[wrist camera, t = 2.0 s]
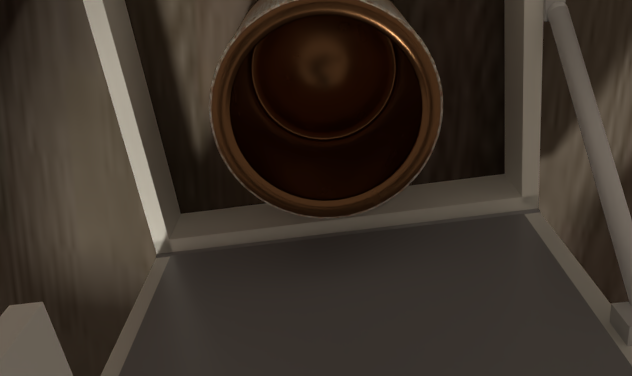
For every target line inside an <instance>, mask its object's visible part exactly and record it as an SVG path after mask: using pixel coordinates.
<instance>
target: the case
mask: <svg viewBox="0 0 632 376" xmlns="http://www.w3.org/2000/svg"><path fill="white" fill-rule="evenodd" d="M83 3H84V6H85V9H86V13H87V16H88V20H89V23H90V27H91V30H92V33H93V37H94V40H95V44H96V47H97V51H98V54H99V57H100V61H101V64H102V68H103V71H104V75H105V78H106V81H107V85H108V88H109V92H110V95H111V99H112V102H113V105H114V109H115V112H116V116H117V119H118V123H119V126H120V129H121V133H122V136H123V140H124V143H125V147H126V150H127V153H128V157H129V160H130V164H131V167H132V171H133V174H134V177H135V181H136V184H137V188H138V191H139V195H140V198H141V201H142V205H143V208H144V212H145V215H146V219H147V222H148V225H149V229H150V232H151V236H152V239H153V243H154V246H155V249H156V253H157V255H156V259H155V261H154V263H153V265H152V268H151V270H150V272H149V274H148V276H147V278H146V280H145V282H144V285H143V287H142V289H141V291H140V293H139V295H138V297H137V299H136V301H135V304H134V306H133V308H132V310H131V312H130V314H129V316H128V318H127V321H126V323H125V325H124V327H123V329H122V331H121V333H120V335H119V337H118V340H117V342H116V344H115V346H114V348H113V350H112V352H111V354H110V357H109V359H108V361H107V363H106V365H105V367H104V369H103V371H102V373H101V376H632V219H631V216H630V213H629V209H628V206H627V203H626V199H625V196H624V193H623V189H622V186H621V183H620V179H619V176H618V173H617V169H616V166H615V163H614V159H613V156H612V153H611V149H610V146H609V143H608V139H607V136H606V133H605V129H604V126H603V123H602V119H601V116H600V113H599V109H598V106H597V103H596V99H595V96H594V93H593V89H592V86H591V83H590V79H589V76H588V73H587V69H586V66H585V63H584V59H583V56H582V53H581V49H580V46H579V43H578V39H577V36H576V33H575V29H574V26H573V23H572V19H571V16H570V13H569V9H568V7H567V5H566V0H504V57H505V174H499V175H491V176H483V177H475V178H467V179H459V180H451V181H442V182H434V183H426V184H418V185H410V186H407V187H406V188H405V189H404V190H403V191H402V192H400V193H399V194H398V195H397V196H395V197H394V198H392V199H391V200H389V201H387V202H386V203H384V204H382V205H380V206H378V207H376V208H374V209H371V210H369V211H366V212H363V213H360V214H357V215H353V216H348V217H342V218H331V219H320V218H308V217H303V216H298V215H294V214H290V213H287V212H284V211H282V210H279V209H277V208H275V207H273V206H271V205H269V204H267V203H264V204H256V205H248V206H240V207H232V208H224V209H216V210H208V211H199V212H191V213H183V214H181V212H180V208H179V205H178V201H177V197H176V193H175V189H174V186H173V182H172V178H171V174H170V170H169V167H168V163H167V159H166V155H165V151H164V148H163V144H162V140H161V136H160V132H159V129H158V125H157V121H156V117H155V113H154V110H153V106H152V102H151V98H150V94H149V91H148V87H147V83H146V79H145V75H144V71H143V68H142V64H141V60H140V56H139V52H138V49H137V45H136V41H135V37H134V33H133V30H132V26H131V22H130V18H129V14H128V11H127V7H126V3H125V0H83ZM543 21H545V22H547V21H550V25H551V28H552V32H553V35H554V39H555V42H556V46H557V50H558V53H559V57H560V60H561V64H562V67H563V71H564V74H565V78H566V81H567V85H568V88H569V92H570V95H571V99H572V102H573V106H574V109H575V113H576V117H577V120H578V124H579V127H580V131H581V134H582V138H583V141H584V145H585V148H586V152H587V155H588V159H589V162H590V166H591V169H592V173H593V176H594V180H595V183H596V187H597V191H598V194H599V198H600V201H601V205H602V208H603V212H604V215H605V219H606V222H607V226H608V229H609V233H610V236H611V240H612V243H613V247H614V250H615V254H616V258H617V261H618V265H619V268H620V272H621V275H622V279H623V282H624V286H625V289H626V293H627V296H628V300H629V302H619V303H611V304H610V302H609V301H608V300H607V298H606V297H605V296H604V294H603V293H602V292H601V291H600V289H599V288H598V287H597V285H596V284H595V283H594V281H593V280H592V279H591V278H590V276H589V275H588V274H587V272H586V271H585V270H584V268H583V267H582V266H581V265H580V263H579V262H578V261H577V259H576V258H575V257H574V255H573V254H572V253H571V252H570V250H569V249H568V248H567V246H566V245H565V244H564V242H563V241H562V240H561V238H560V237H559V236H558V235H557V233H556V232H555V231H554V229H553V228H552V227H551V225H550V224H549V223H548V222H547V220H546V219H545V218H544V216H543V215H542V214H541V212H540V210H539V169H540V131H541V92H542V54H543Z"/></svg>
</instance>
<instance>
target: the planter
mask: <svg viewBox="0 0 632 376" xmlns="http://www.w3.org/2000/svg"><path fill="white" fill-rule="evenodd" d="M209 116H210V124H211V129H212V134H213V137H214V141H215V143H216V146H217V149H218V151H219V153H220V155H221V157H222V159H223V161H224V162H225V164H226V166H227V167H228V169H229V170H230V172H231V173H232V174H233V175H234V177H235V178H236V179H237V180H238V181H239V182H240V183H241V184H242V185H243V186H244V187H245V188H246V189H247V190H248V191H249V192H251V193H252V194H253V195H254V196H256V197H257V198H259V199H260V200H262V201H263V202H265V203H267V204H269V205H271V206H273V207H275V208H277V209H279V210H282V211H284V212H287V213H290V214H294V215H298V216H303V217H308V218H320V219H331V218H342V217H348V216H353V215H357V214H360V213H363V212H366V211H369V210H371V209H374V208H376V207H378V206H380V205H382V204H384V203H386V202H387V201H389V200H391V199H392V198H394V197H395V196H397V195H398V194H399V193H400V192H402V191H403V190H404V189H405V188H406V187H407V186H408V185H410V183H411V182H412V181H413V180H414V179H415V178H416V177H417V176H418V174H419V173H420V172H421V171H422V169H423V168H424V166H425V165H426V163H427V161H428V160H429V158H430V156H431V154H432V152H433V150H434V148H435V145H436V143H437V140H438V137H439V133H440V129H441V124H442V117H443V93H442V86H441V81H440V77H439V73H438V70H437V67H436V65H435V62H434V60H433V58H432V56H431V54H430V52H429V50H428V48H427V47H426V45H425V44H424V42H423V41H422V39H421V38H420V37H419V35H418V34H417V33H416V32H415V31H414V29H413V28H412V27H411V26H410V25H409V23H408V22H407V21H406V19H405V18H404V17H403V15H402V14H401V13H400V11H399V10H398V9H397V8H396V7H395V5H394V4H393V3H392V2H391V1H390V0H258V1H257V2H256V3H255V5H254V6H253V7H252V8H251V9H250V11H249V12H248V13H247V15H246V16H245V18H244V19H243V21H242V23H241V24H240V26H239V28H238V29H237V31H236V33H235V35H234V36H233V38H232V39H231V41H230V42H229V44H228V45H227V47H226V49H225V50H224V52H223V54H222V56H221V58H220V60H219V62H218V64H217V67H216V69H215V73H214V76H213V79H212V84H211V89H210V97H209Z"/></svg>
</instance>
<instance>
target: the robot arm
mask: <svg viewBox="0 0 632 376" xmlns="http://www.w3.org/2000/svg"><path fill="white" fill-rule="evenodd" d="M0 376H73V374H72V372H71V369H70V367H69V364H68V362H67V360H66V357H65V355H64V352H63V350H62V347H61V345H60V342H59V340H58V338H57V335H56V333H55V330H54V328H53V325H52V323H51V320H50V318H49V316H48V313H47V311H46V308H45V306H44V303H43V302H35V303H26V304H17V305H9V306H8V307H7V309H6V310H5V311H4V312H3V314H2V315H1V316H0Z"/></svg>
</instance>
